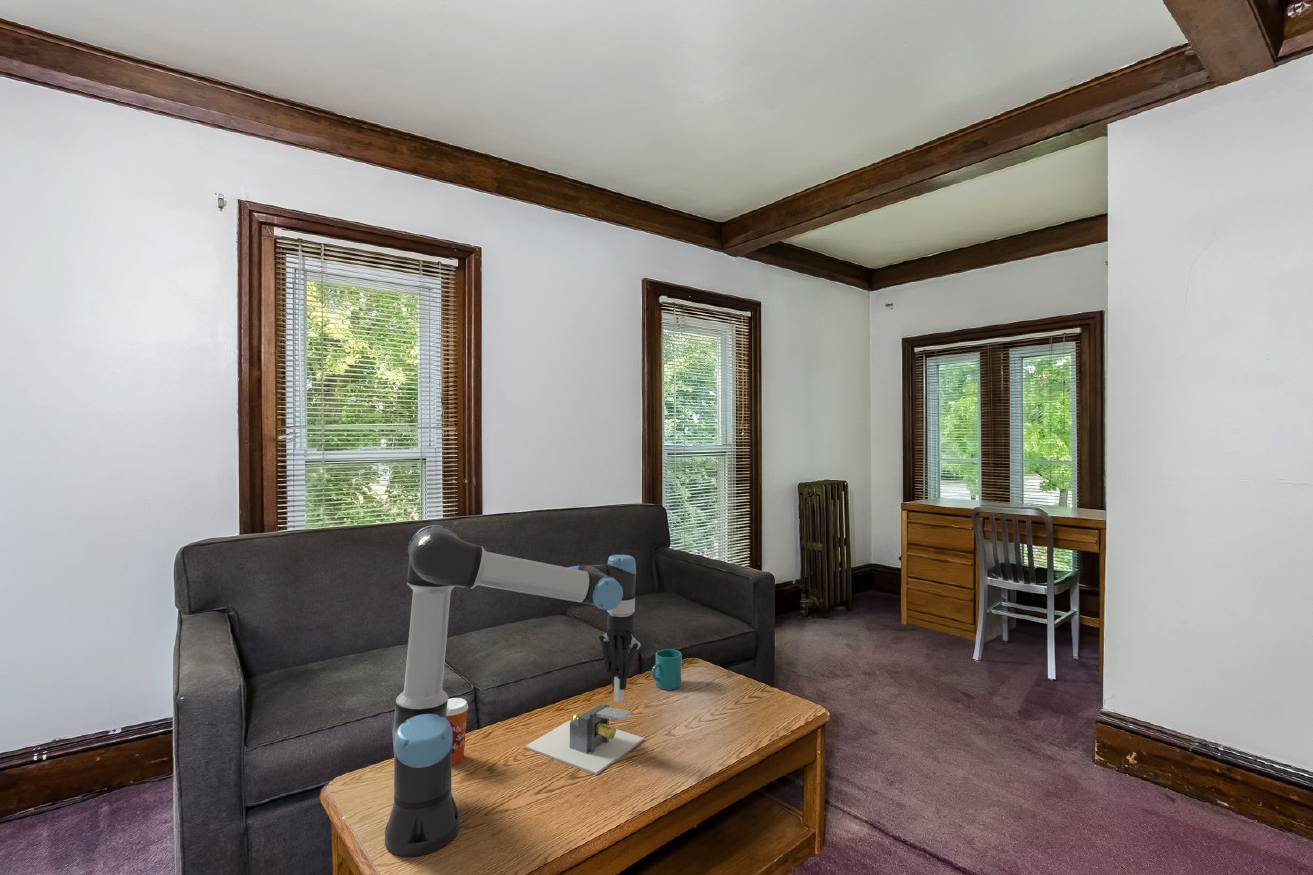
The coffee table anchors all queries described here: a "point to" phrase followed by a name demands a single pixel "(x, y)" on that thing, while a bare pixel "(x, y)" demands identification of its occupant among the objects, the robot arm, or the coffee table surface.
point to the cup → (668, 669)
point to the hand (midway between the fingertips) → (618, 700)
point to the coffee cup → (457, 726)
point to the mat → (559, 749)
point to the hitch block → (587, 731)
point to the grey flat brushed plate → (613, 713)
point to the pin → (598, 727)
